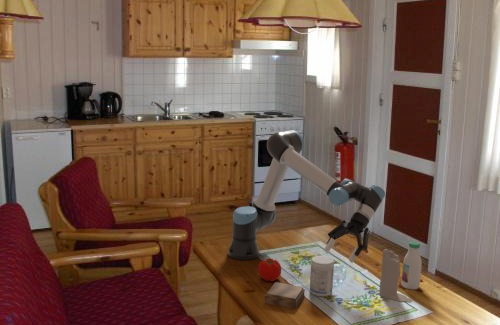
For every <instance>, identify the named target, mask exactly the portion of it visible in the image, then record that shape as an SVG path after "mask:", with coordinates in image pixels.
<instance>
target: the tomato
mask: <svg viewBox="0 0 500 325" xmlns="http://www.w3.org/2000/svg"><path fill="white" fill-rule="evenodd" d="M257 266H258V267H257V268H258V269H257V270H258V274H259V276H260V277H261V279H263V280H264V281H266V282H275V281H276V280H277V279H278V278H279V277H280V276H281V275H282V266H281V263H280V262H279V261H278V260H277V259H273V258H265V259H263V260H261V261H260V262H259V263H258V265H257Z"/></svg>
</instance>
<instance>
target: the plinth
mask: <svg viewBox="0 0 500 325" xmlns="http://www.w3.org/2000/svg"><path fill="white" fill-rule="evenodd" d="M305 290H306V289H304V287H303V286H299V285H294V284H288V283H282V282H278V281H276V282H275V281H274V283H273V285H272V286H271V287H270V288H269V290H268V291H267V292H266V293H265V295H264V303H265V304H268V305H273V306H274V305H275V306H280V307H283V308H289V309H294V310H296V309H297V308H298V307H299V304H300V303H301V302H302V300H303V298H304V296H305V292H306V291H305Z"/></svg>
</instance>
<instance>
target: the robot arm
mask: <svg viewBox="0 0 500 325" xmlns="http://www.w3.org/2000/svg"><path fill="white" fill-rule="evenodd" d="M304 145H305V140H304V139H303V136H302V135H301V133H300V132H298V131H296V130H290V129H289V130H284V131H279V132H275V133H272V134H271V135H270V136H269V137H268V139H267V141H266V149H267V152H268V153H269V155H270V156H271V157H272V160H271V164H270V165H269V168H268V171H267V173H266V176H265V178H264V182H263V184H262V187H261V190H260V192H259V194H258V197H257V198H254V200H253V202H252V204H251V206H250V205H249V206H248V205H247V206H246V205H245V206H240V207H237V208H236V209H234V211H233V213H232V214H233V215H232V239H231V242H230V245H229V247H228V253H227V254H228V256H229V257H230V258H232V259H234V260H239V261H251V260H256V259H257V258H259V256H260V249H259V247H258V242H257V231H260V230H262V229H265V228H268V227H269V226H271V225H272V224H273V222H275V220H276V214H277V213H276V208H277V207H276V205H275V202H276V200H277V197H278V195H279V192H280V190H281V187H282V184H283V181H284V179H285V178H286V174H287V172H288V170H289V168H290V169H291V170H293V171H294V172H296V173H297V174H298V175H299V176H300V177H302V178H303V179H305V180H306V181H307V182H309V183H310V184H311V185H313V186H314V187H316V188H317V189H318V190H320V191H321V192H322V193H323V194H325V195H326V196H328V200H329V202H330V203H331V204H332V205H334V206H343V205H345V204H347V203H349V202H350V201H353V200H354V201H356V202H357V203H359V204H358V207H357V208H356V210H355V211H354V213H353V214H352V216H350V221H349V222H346V220H345V219H344V220H342V222H340V224H339V225H337V226H336V227H335V228H333V229H332V230H331V231H329V232H328V233H327V236H328V237H329V238H328V241H327V242H326V246H325V247H324V249H323V251H324V252H325V253H326V254H329V252H330V251H331V249H332V247H333V246H334V245H335V243H336V240H338V239H339V238H342V237H344V236H345V235H353V236H355V237H356V242H357V246H355V248H354V249H353V251H352V253H351V254H350V256H348V260H349V263H352V264H353V262H354V261H355V260H356V258H357V257H359V255H360V254H361V252H362V251H367V250H368V245H369V235H370V233H371V230H370V229H369V228H368V227H367V226H368V225H369V223H370V221H372V219H373V217H374V215H375V214H376V211H377V210H378V209H379V207H380V205H381V204H382V203H383V200H384V198H385V196H386V192H385V190H384V188H382V187H381V186H379V185H377V184H376V185H375V184H372V185H370V186H369V187H367V186H366V185H365V186H364V185H363V184H360V183H358V182H356V181H354V180H351V179H349V178H344V179H343V180H342V181H341V182H338V180H336V179H334V178H333V177H331V175H329V174H327V172H325V171H324V170H322V169H321V168H320V167H318V166H316V165H315V164H314V163H313V162H312V161H310V160H309V159H307V158H305V157H304V156H303V155H302V154H300V153H301V151H302V150H303V148H304V147H305V146H304ZM362 233H363V235H362Z"/></svg>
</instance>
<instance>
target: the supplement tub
mask: <svg viewBox="0 0 500 325" xmlns="http://www.w3.org/2000/svg"><path fill="white" fill-rule="evenodd" d="M334 261H335V260H334V259H333V258H332V257H330V256H327V255H315V256H313V257H311V262H310V276H309V280H310V281H309V291H310V293H311V294H312V295H314V296H317V297H328V296H330V295H332V294H333V287H334V286H333V284H334V272H335V271H334V269H335V262H334Z"/></svg>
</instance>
